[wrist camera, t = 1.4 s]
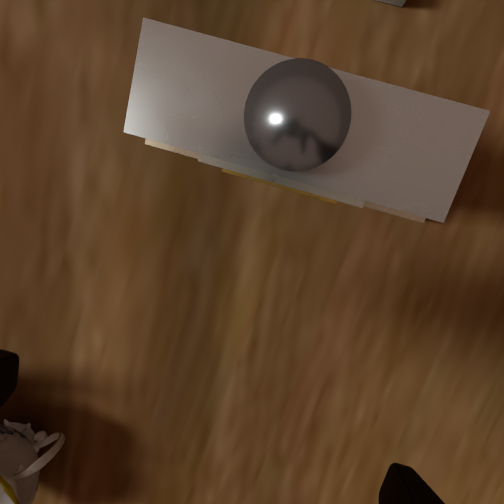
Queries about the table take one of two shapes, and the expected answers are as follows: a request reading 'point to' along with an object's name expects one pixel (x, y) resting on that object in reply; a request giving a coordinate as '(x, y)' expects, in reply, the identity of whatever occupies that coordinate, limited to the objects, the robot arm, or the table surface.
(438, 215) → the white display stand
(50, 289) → the table surface
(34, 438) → the chinaware
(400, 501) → the robot arm
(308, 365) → the table surface
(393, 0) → the tray
